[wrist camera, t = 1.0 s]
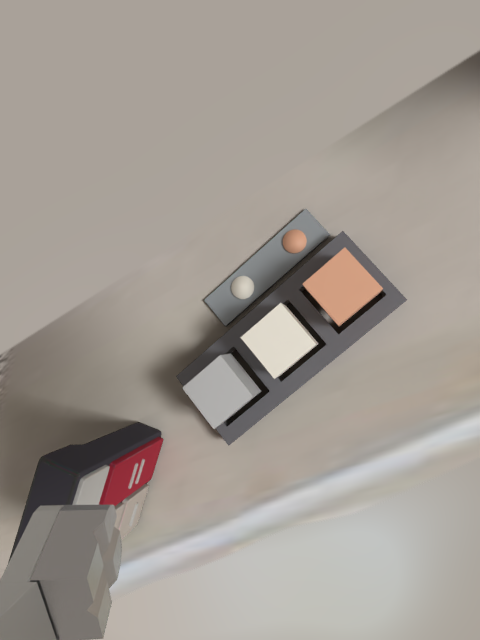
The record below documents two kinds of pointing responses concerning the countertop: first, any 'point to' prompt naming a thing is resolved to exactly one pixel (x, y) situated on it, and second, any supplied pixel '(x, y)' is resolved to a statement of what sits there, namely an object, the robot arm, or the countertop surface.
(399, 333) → the countertop surface
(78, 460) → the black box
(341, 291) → the terracotta key
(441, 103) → the countertop surface
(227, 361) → the grey key
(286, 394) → the keyguard frame
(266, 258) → the card
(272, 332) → the cream key
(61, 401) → the countertop surface
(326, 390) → the countertop surface
